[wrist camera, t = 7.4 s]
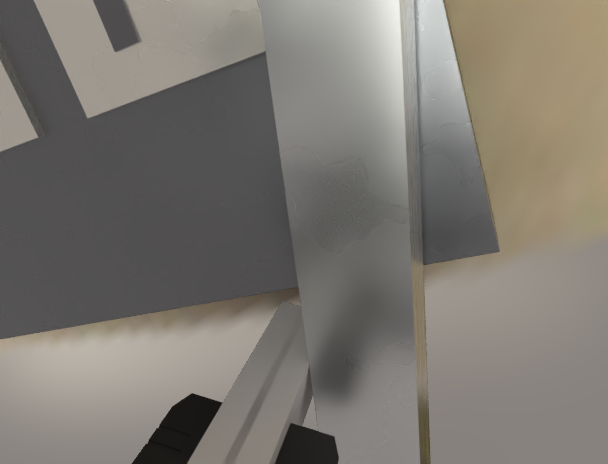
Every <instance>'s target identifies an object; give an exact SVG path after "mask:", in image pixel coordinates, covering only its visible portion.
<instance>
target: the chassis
mask: <svg viewBox="0 0 608 464" xmlns="http://www.w3.org/2000/svg"><path fill="white" fill-rule="evenodd" d="M414 13H415V42H416V70H417V98H418V126H419V155H420V183H421V211H422V239H423V265H427V264H432V263H438V262H444V261H449V260H455V259H461V258H466V257H472V256H478V255H484V254H489V253H495V252H500V250H499V245H498V239H497V233H496V227H495V222H494V217H493V213H492V209H491V204H490V200H489V195H488V191H487V186H486V182H485V178H484V173H483V169H482V164H481V160H480V155H479V151H478V147H477V142H476V138H475V133H474V129H473V124H472V120H471V116H470V111H469V107H468V102H467V98H466V93H465V89H464V85H463V80H462V76H461V71H460V67H459V62H458V58H457V54H456V49H455V45H454V40H453V36H452V31H451V27H450V23H449V18H448V14H447V9H446V5H445V0H414ZM295 287H298V281H297V274H296V267H295V259H294V252H293V245H292V238H291V231H290V223H289V216H288V209H287V202H286V195H285V187H284V180H283V173H282V166H281V159H280V151H279V144H278V137H277V130H276V123H275V115H274V108H273V101H272V94H271V86H270V79H269V72H268V65H267V58H266V50H265V43H264V36H263V29H262V22H261V14H260V7H259V0H0V339H5V338H10V337H16V336H22V335H27V334H33V333H39V332H45V331H50V330H56V329H62V328H67V327H73V326H79V325H84V324H90V323H96V322H102V321H107V320H113V319H119V318H124V317H130V316H136V315H141V314H147V313H153V312H159V311H164V310H170V309H176V308H181V307H187V306H193V305H199V304H204V303H210V302H216V301H221V300H227V299H233V298H238V297H244V296H250V295H256V294H261V293H267V292H273V291H278V290H284V289H290V288H295Z"/></svg>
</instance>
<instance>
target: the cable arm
mask: <svg viewBox="0 0 608 464" xmlns="http://www.w3.org/2000/svg"><path fill="white" fill-rule="evenodd" d="M259 7H260V14H261V22H262V29H263V36H264V43H265V50H266V58H267V65H268V72H269V79H270V86H271V94H272V101H273V108H274V115H275V123H276V130H277V137H278V144H279V151H280V159H281V166H282V173H283V180H284V187H285V195H286V202H287V209H288V216H289V223H290V231H291V238H292V245H293V252H294V259H295V267H296V274H297V281H298V288H299V295H300V303H301V310H302V317H303V324H304V331H305V339H306V346H307V353H308V360H309V367H310V375H311V382H312V389H313V396H314V403H315V411H316V417H317V425H318V431H319V432H322V433H325V434H328V435H332V436H334V437H335V442H336V446H337V451H338V456H339V461H338V464H430V437H429V411H428V410H429V409H428V382H427V352H426V326H425V325H426V324H425V296H424V268H423V239H422V211H421V183H420V155H419V126H418V98H417V70H416V42H415V13H414V0H259Z"/></svg>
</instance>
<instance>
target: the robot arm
mask: <svg viewBox="0 0 608 464" xmlns="http://www.w3.org/2000/svg"><path fill="white" fill-rule="evenodd" d="M312 396H313V389H312V382H311V375H310V367H309V360H308V353H307V346H306V339H305V331H304V324H303V317H302V310H301V306H298V305H294V304H290V303H287V302H283V301H282V303H281V304H280V306H279V308H278V309H277V311H276V313H275V315H274V316H273V318H272V320H271V321H270V323H269V325H268V327H267V328H266V330H265V332H264V333H263V335H262V337H261V338H260V340H259V342H258V344H257V345H256V347H255V349H254V350H253V352H252V354H251V356H250V357H249V359H248V361H247V362H246V364H245V366H244V368H243V369H242V371H241V373H240V374H239V376H238V378H237V380H236V381H235V383H234V385H233V386H232V388H231V390H230V391H229V393H228V395H227V396H226V398H225V400H224V402H223V403H222V402H218V401H215V400H212V399H209V398H205V397H202V396H199V395H196V394H190V395H189V396H187V397H186V398H184V399H183V400H181V401H180V402H178V403H177V404H175V405H174V406H173V407H172V408H171V409H170V411H169V412H168V414H167V415H166V417H165V418H164V419H163V421H162V422H161V424H160V426H159V428H157V429H156V431H155V432H154V433H153V435H152V436H151V438H150V439H149V442H148V444H146V445H145V446H144V447H143V449H142V450H141V452H140V453H139V454H138V456H137V457H136V459H135V460H134V461H133V463H132V464H338V461H339V456H338V451H337V446H336V442H335V437H334V436H332V435H328V434H325V433H322V432H319V431H316V430H312V429H309V428H306V427H302V424H303V422H304V419H305V416H306V413H307V410H308V407H309V405H310V402H311V399H312Z"/></svg>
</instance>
